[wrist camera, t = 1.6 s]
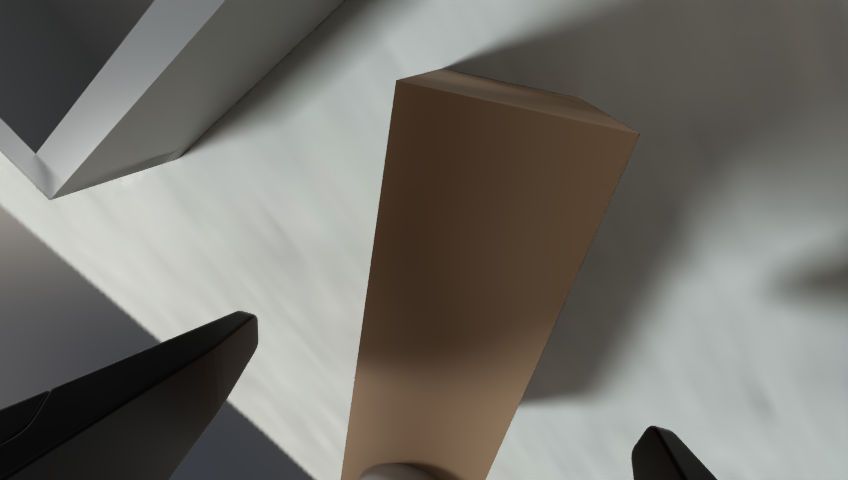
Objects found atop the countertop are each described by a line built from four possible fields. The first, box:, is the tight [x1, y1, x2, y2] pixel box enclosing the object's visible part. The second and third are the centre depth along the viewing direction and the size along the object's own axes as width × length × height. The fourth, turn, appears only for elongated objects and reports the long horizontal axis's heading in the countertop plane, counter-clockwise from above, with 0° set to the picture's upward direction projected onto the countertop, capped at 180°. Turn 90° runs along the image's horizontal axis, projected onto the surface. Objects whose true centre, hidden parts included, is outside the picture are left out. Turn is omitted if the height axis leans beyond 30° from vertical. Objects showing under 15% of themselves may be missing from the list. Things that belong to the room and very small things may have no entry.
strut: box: [341, 69, 640, 480], centre depth 10 cm, size 4×12×6 cm, turn 169°
